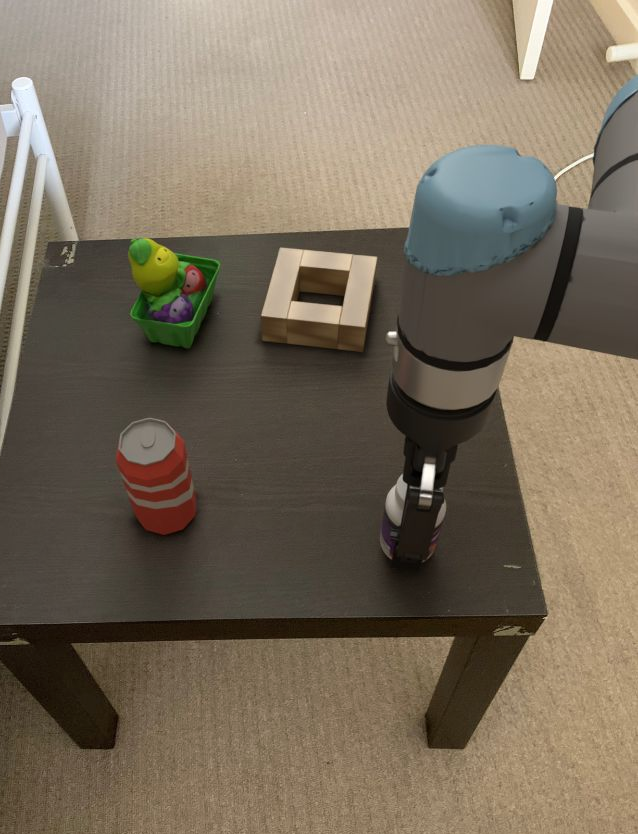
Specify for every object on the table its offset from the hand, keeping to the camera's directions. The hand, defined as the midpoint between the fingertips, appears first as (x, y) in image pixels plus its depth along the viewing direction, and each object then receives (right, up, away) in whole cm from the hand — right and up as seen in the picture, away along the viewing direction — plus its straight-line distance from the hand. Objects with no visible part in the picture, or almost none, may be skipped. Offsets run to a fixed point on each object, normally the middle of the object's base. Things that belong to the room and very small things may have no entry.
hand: (408, 538), depth 72 cm
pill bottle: (0, -1, +1) cm, 1 cm away
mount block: (-7, +27, +20) cm, 34 cm away
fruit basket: (-24, +26, +20) cm, 41 cm away
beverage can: (-24, +2, +5) cm, 24 cm away
